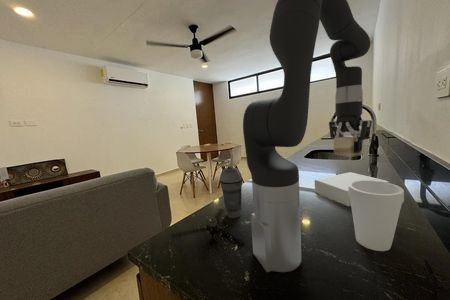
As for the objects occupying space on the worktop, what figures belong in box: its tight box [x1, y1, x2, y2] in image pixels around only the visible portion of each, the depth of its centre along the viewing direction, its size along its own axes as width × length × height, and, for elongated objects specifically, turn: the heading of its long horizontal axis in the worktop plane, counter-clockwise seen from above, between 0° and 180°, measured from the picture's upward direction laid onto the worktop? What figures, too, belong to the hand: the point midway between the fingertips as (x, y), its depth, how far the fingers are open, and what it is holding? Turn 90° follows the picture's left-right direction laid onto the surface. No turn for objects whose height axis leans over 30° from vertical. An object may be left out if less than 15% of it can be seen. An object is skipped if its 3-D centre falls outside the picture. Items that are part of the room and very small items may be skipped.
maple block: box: [333, 135, 364, 158], centre depth 65 cm, size 6×6×6 cm
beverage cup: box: [219, 153, 244, 219], centre depth 60 cm, size 7×7×20 cm
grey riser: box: [314, 171, 390, 207], centre depth 69 cm, size 18×14×5 cm
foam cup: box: [348, 180, 405, 252], centre depth 42 cm, size 10×9×13 cm
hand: (348, 151), depth 65 cm, fingers closed on maple block, 6 cm apart
